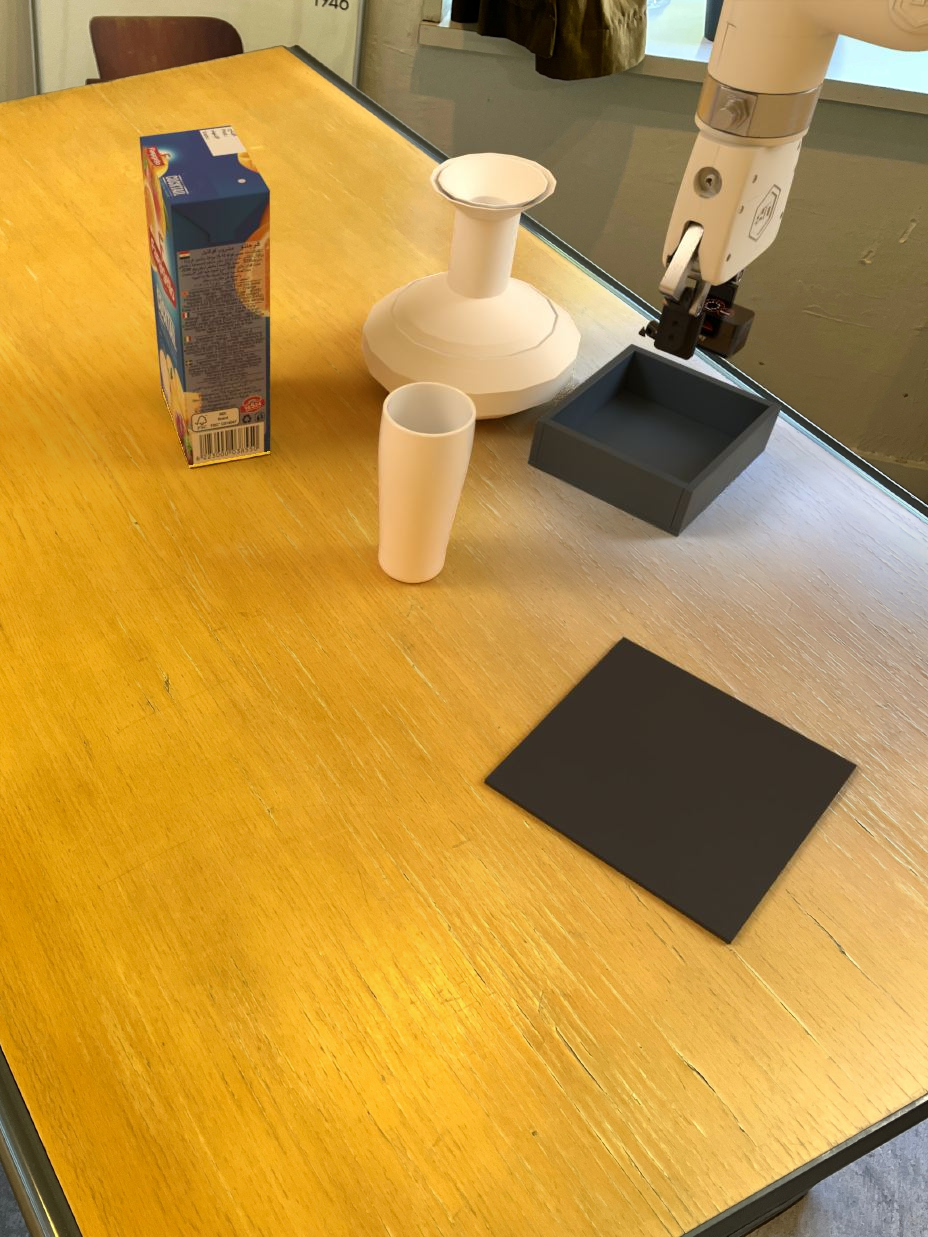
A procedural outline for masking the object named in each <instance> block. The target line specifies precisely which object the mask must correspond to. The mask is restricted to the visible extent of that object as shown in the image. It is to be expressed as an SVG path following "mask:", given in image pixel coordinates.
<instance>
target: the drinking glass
mask: <svg viewBox="0 0 928 1237" xmlns="http://www.w3.org/2000/svg"><path fill="white" fill-rule="evenodd" d="M476 421H477V420H476V407H475V405H474V403H473V401H472V400H471V399H470V397H469V396H467V395H466V394H465V393H464V392H462V391H460V390H459V389H457V388H454V387H452V386H449V385H445V384H441V383H434V382H418V383H411V384H407V385H404V386H401V387H399V388H397V389H395V390H394V391H392V392H391V393H390V392H389V393H388V395H387V396H386V398H385V399H384V401H383V404H382V410H381V418H380V425H379V432H378V446H377V447H378V448H377V478H378V483H377V484H378V485H377V486H378V539H379V540H378V549H377V559H378V564H379V566H380V568H381V569H382V571H383V572H384V573H385V574H386V575H387V576H389V577H390V578H392V579H394V580H395V581H398V582H402V583H405V584H406V583H407V584H419V583H425V582H428V581H431V580H432V579H434V578H435V577H437V576H438V575H439V574H440V573H441V571H442V570H443V568H444V565H445V562H446V557H447V556H446V555H447V550H448V545H449V542H450V537H451V533H452V530H453V526H454V521H455V518H456V514H457V510H458V508H459V507H458V506H459V503H460V499H461V496H462V492H463V489H464V486H465V485H464V484H465V481H466V477H467V474H468V469H469V465H470V461H471V458H472V451H473V445H474V439H475V430H476Z"/></svg>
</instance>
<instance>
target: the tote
mask: <svg viewBox="0 0 928 1237" xmlns="http://www.w3.org/2000/svg"><path fill="white" fill-rule="evenodd" d="M782 406H783V405H780V404H779V403H777V402H774V401H772V400H770V399H767V398H765V397H762V396H759V395H758V394H755V393H752V392H750V391H747V390H745V389H743V388H740V387H737V386H735V385H732V384H731V383H728V382H726V381H723V380H720V379H718V378H716V377H714V376H711V375H708V374H706V373H705V372H704V373H703V372H702V371H699V370H697V369H694V368H691V367H689V366H687V365H684V364H682V363H679V362H677V361H675V360H672V359H671V358H668V357H665V356H663V355H660V354H658V353H656V352H653V351H650V350H648V349H646V348H643V347H641V346H638V345H637V344H633V343H631V344H629V345H628V346H626V348H625V349H623V350H622V351H621V352H619V353H618V354H617V355H615V356H614V357H613V358H611V359H610V360H609V361H608V362H607V363H606V364H604V365H603V366H602V367H600V368H599V369H598V370H596V371H595V372H594V373H593V374H592V375H591V376H588V378H587V379H585V380H584V381H582V383H580V384H579V385H578V386H576V387H575V388H574V389H572V391H570V392H569V393H567V395H565V396H564V397H563V398H562V399H560V400H559V401H558V402H556V403H555V404H554V405H553V406H551V408H549V409H548V410H547V411H545V412H544V413H542V414H541V415H540V416H539V417H538V418H537V419H536V421H535V426H534V430H533V437H532V441H531V444H530V445H531V446H530V450H529V455H528V460H527V464H528V465H530V466H531V467H534V468H536V469H538V470H540V471H542V472H544V473H546V474H548V475H550V476H553V477H554V478H556V479H558V480H561V481H562V482H565V483H567V484H569V485H571V486H572V487H575V488H577V489H579V490H581V491H583V492H585V493H586V494H589V495H591V496H593V497H594V498H597V499H599V500H601V501H603V502H605V503H607V504H609V505H611V506H613V507H616V508H618V509H620V510H622V511H624V512H626V513H627V514H630V515H632V516H634V517H636V518H638V519H640V520H641V521H644V522H646V523H648V524H650V525H652V526H654V527H656V528H658V529H660V530H662V531H664V532H666V533H668V534H670V535H672V536H675V537H676V538H677V537H679V536H680V535H681V534H682V533H683V532H684V531H685V530H686V529H687V528H688V527H689V526H690V525H691V524H692V523H693V522H694V521H695V520H696V519H697V518H699V516H700V515H701V514H702V513H703V512H704V511H705V510H706V509H707V508H708V507H709V506H710V505H711V504H712V503H713V502H714V501H715V500H716V499H717V498H718V497H719V496H720V495H721V494H722V493H723V492H724V491H725V490H726V489H727V488H728V487H730V485H731V484H733V482H734V481H735V480H736V479H737V478H738V477H739V476H740V475H742V473H743V472H745V470H746V469H748V467H749V466H750V465H752V464H753V462H754V461H756V459H757V458H758V457H759V456H760V455H761V454H763V452H764V451H765V450H766V448H767V445H768V442H769V440H770V437H771V435H772V432H773V430H774V427H775V425H776V423H777V420H778V417H779V415H780V413H781V410H782Z"/></svg>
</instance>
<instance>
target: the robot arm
mask: <svg viewBox="0 0 928 1237" xmlns="http://www.w3.org/2000/svg"><path fill="white" fill-rule="evenodd" d="M840 35H841V36H844V37H847V38H851V39H853V40H858V41H860V42H864V43H866V44H871V45H872V46H873V45H874V46H877V47H879V48H880V47H882V48H885V49H889V50H893V51H899V52H905V53H906V52H907V53H908V52H912V53H920V52H921V53H922V52H928V0H723V3H722V7H721V11H720V14H719V19H718V23H717V27H716V31H715V35H714V39H713V43H712V47H711V50H710V55H709V60H708V64H707V68H706V71H705V75H704V79H703V83H702V86H701V91H700V95H699V99H698V102H697V106H696V110H695V115H694V123H695V125H696V126H697V128H698V129H699V132H698V134H697V136H696V140H695V143H694V145H693V147H692V151H691V153H690V156H689V159H688V162H687V165H686V168H685V171H684V174H683V177H682V181H681V183H680V188H679V190H678V193H677V197H676V200H675V203H674V206H673V210H672V214H671V217H670V221H669V225H668V227H667V228H668V229H667V232H666V236H665V241H664V246H663V251H662V264H663V267H664V268H665V269H666V271H665V273H664V275H663V277H662V279H661V281H660V283H659V286H658V289H657V290H658V293H660V294H661V295H662V296H663V299H662V310H661V314H660V318H659V321H658V323H659V325H658V329H657V333H656V337H655V340H654V339H653V347H654V348H655V349H656V350H658V351H660V352H663V353H665V354H668V355H671V356H673V357H676V358H678V359H682V360H683V361H688V360H690V359H692V358H693V356H694V355H695V351H696V349H697V347H696V345H697V342H698V338H699V335H700V331H701V328H702V325H703V321H704V318H705V314H706V313H705V312H702V311H701V310H702V308H703V305H704V303H705V300H706V297H707V295H708V293H709V294H711V295H714V296H716V297H719V298H721V299H724V300H727V301H729V302H732V303H734V302H735V300H736V297H737V293H738V290H739V287H740V285H738V283H740V281H741V280H742V278H743V276H744V274H745V272H746V267H747V266H749V265H750V264H751V263H752V262H753V261H754V260H756V259H757V258H758V257H759V256H761V255H762V254H763V253H764V252H765V251H766V250H767V249H768V248H769V247H770V246H771V245H772V244H773V242H774V241H775V239H776V238H777V235H778V234H779V233H778V232H779V229H780V226H781V223H782V220H783V216H784V213H785V209H786V205H787V201H788V198H789V194H790V192H791V188H792V185H793V184H792V183H793V180H794V176H795V172H796V169H797V164H798V161H799V156H800V153H801V152H800V151H801V148H802V143H803V138H804V137H805V136H806V135H807V133H808V132H809V129H810V126H811V122H812V120H813V116H814V114H815V110H816V107H817V104H818V101H819V98H820V96H821V91H822V89H823V86H824V82H825V78H826V76H827V73H828V69H829V66H830V63H831V62H832V61H831V60H832V57H833V54H834V51H835V48H836V45H837V41H838V39H839V36H840ZM695 262H696V263H698V264H699V267H696V266H694V264H695ZM687 278H688V279H690V280H693V281H696V282H695V286H694V288H696V289H697V291H696V293H695V295H694V292H693V290H692V289H691V288H688V287H687V286H688V285H687V284H686V282H687ZM734 304H735V303H734Z"/></svg>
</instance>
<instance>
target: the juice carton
mask: <svg viewBox="0 0 928 1237" xmlns="http://www.w3.org/2000/svg"><path fill="white" fill-rule="evenodd" d="M138 138H139V147H140V160H141V170H142V183H143V195H144V206H145V216H146V217H145V218H146V230H147V239H148V240H147V241H148V252H149V263H150V274H151V285H152V286H151V287H152V297H153V298H152V299H153V308H154V320H155V332H156V343H157V354H158V365H159V366H158V367H159V376H160V377H159V378H160V387H161V386H162V389H163V392H164V395H165V398H166V401H167V404H168V407H169V410H170V413H171V415H172V418H173V422H174V424H175V427H176V430H177V432H178V436H179V438H180V441H181V444H182V447H183V450H184V453H185V456H186V458H187V461H188V464H189V465H193V464H200V463H206V462H209V461H215V460H221V459H228V458H234V457H239V456H245V455H251V454H256V453H262V452H267V451H271V449H272V448H271V189H270V188H269V186H268V184H267V183H266V181H265V180H264V178H263V176H262V175H261V173H260V171H259V170H258V168H257V166H256V164H255V163H254V161H253V159H252V158H251V157H250V155H249V153H248V151H247V150H246V148H245V147H244V145H243V143H242V141H241V140H240V138H239V136H238V134H236V132H235V130H234V128H233V127H232V125H222V126H221V125H220V126H213V127H206V128H198V129H190V130H182V131H175V132H167V133H159V134H150V135H142V136H139V137H138ZM183 450H182V451H183ZM271 452H272V451H271ZM184 453H183V454H184ZM185 456H184V457H185ZM187 461H186V462H187ZM188 464H187V465H188Z"/></svg>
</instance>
